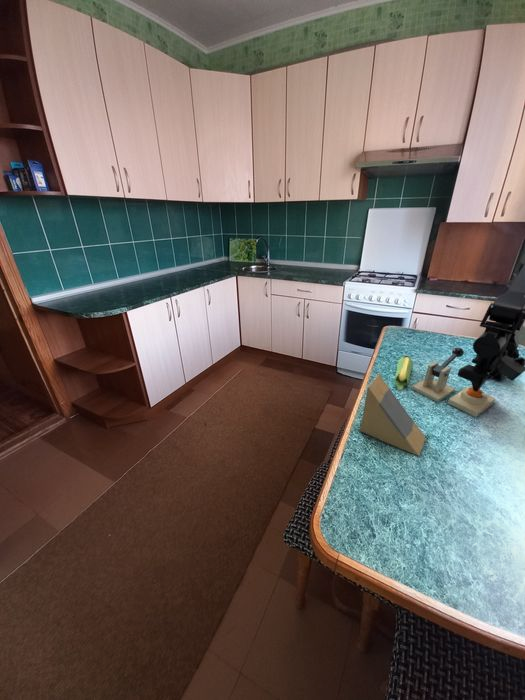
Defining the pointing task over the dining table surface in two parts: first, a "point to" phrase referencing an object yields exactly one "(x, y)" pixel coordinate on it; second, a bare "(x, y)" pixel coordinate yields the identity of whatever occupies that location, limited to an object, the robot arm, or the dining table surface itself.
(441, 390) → the lever stand
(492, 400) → the control block
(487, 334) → the robot arm
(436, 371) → the black lever handle
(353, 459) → the dining table surface
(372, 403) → the sandwich container
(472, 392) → the button
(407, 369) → the edible corn
